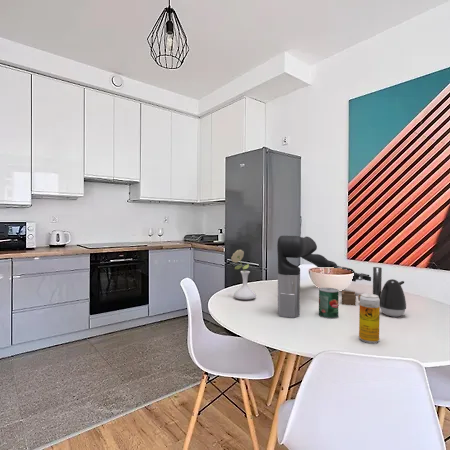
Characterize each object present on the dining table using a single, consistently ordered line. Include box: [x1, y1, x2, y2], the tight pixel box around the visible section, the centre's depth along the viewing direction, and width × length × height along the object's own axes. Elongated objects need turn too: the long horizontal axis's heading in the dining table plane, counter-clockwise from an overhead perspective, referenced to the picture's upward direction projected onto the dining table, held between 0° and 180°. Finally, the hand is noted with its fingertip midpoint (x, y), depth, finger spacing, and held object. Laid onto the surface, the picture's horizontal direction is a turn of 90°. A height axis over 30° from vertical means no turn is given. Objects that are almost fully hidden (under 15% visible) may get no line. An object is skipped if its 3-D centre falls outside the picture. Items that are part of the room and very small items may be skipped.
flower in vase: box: [230, 249, 257, 300], centre depth 158 cm, size 13×11×25 cm
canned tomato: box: [318, 287, 340, 320], centre depth 131 cm, size 8×8×11 cm
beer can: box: [358, 293, 381, 344], centre depth 104 cm, size 6×6×15 cm
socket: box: [341, 290, 357, 306], centre depth 152 cm, size 7×6×5 cm
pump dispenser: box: [380, 278, 407, 318], centre depth 133 cm, size 10×10×15 cm
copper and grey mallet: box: [357, 266, 383, 302], centre depth 148 cm, size 4×16×17 cm, turn 71°
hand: (362, 279), depth 158 cm, fingers open, 8 cm apart
